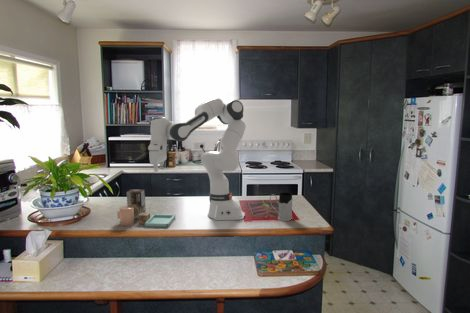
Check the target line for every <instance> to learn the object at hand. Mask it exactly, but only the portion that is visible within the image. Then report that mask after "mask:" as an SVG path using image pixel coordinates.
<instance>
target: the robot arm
mask: <svg viewBox="0 0 470 313" xmlns="http://www.w3.org/2000/svg"><path fill="white" fill-rule="evenodd" d="M243 117H244V105H243V103H242V102H241V101H240V100H237V99H233V100H230V101H229V102H227V103H224V102H223V100H222V99H220V98H219V97H214V98H210V99H208V100H206V101H204V102H203V103H201V104H199V105H198V106H197V107H196V108H195V110H194V116H193V117H191V118H190V119H189V120H187V121H186V122H179V123H178V122H174V121H171V120H170V119H167V118H166V117H165V116H156V117H153V118H151V122H150V129H149V130H150V136H151V137H150V143H149V145H148V147H147V149H148V151H149V152H148V153H149V158H148V159H149V163H150V165H153V172H156V173H157V172H159V170H162V169H164V164H165V161H166V160H167V158H168V156H167V154H168V153H167V149H168V147H167V145H168V143H167V140H168V139H169V140H173V141H176V142H185V141H186V140H187V139H188V138H189V137H190V135H191V134H192V133H193V132H194V131H196V130H197V129H198V128H200V127H201V126H202V125H204V124H206V123H207V122H210V121H211V120H213V119H214V118H217V119H218V121H220V123H221V124H223V125H227V128H226V129H225V131H224V133H223V135H222V137H221V139H220V140H219V141H220V142H219V144H220V145H221V148H222V149H221V150H220V151H214V150H211V151H206V152H204V153H203V154H202V155H201V158H200V159H201V160H200V161H201V165H202V167H204V169H205V171H206V172H207V175H208V178H209V185H210V186H209V187H210V188H209V189H210V192H209V209H208V213H207V217H208V218H211V219H214V220H215V221H232V220H233V221H237V220H238V221H239V220H243V219H245V217H244V216H245V215H246V214H245V212H244V211H242V208H241V205H240V204H239V203H238V201H235V200H234V199H233V193H232V192H230V190H229V184H230V183H229V179H228V177H226V175H225V174H224V172H234V171H236V170H237V169H238V166H239V164H240V163H239V162H240V161H239V158H238V156H237V149H238V146H240V143H241V140H242V138H243V136H244V135H245V132H246V126H247V125H246V123H245V122H244V121H243V120H242V119H243ZM158 166H159V168H158Z"/></svg>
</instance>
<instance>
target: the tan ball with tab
mask: <svg viewBox="0 0 470 313" xmlns="http://www.w3.org/2000/svg"><path fill="white" fill-rule="evenodd" d="M116 215H117V219H119V224H120V226H122V227H128V226H133V225H134V224H135V218H134V207H132V206H127V205H125V206H122V207H120V208H119V210H118V211H117V212H116Z"/></svg>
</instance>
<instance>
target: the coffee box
mask: <svg viewBox="0 0 470 313" xmlns="http://www.w3.org/2000/svg"><path fill="white" fill-rule="evenodd" d="M126 206H132V207H134V219H139V214H141V213H147V212H146V210H147V208H146V190H145V189H135V188H134V189H133V188H132V189H129V190H128V191H126Z"/></svg>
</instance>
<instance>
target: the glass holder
mask: <svg viewBox="0 0 470 313" xmlns="http://www.w3.org/2000/svg"><path fill="white" fill-rule="evenodd" d="M278 195H279V196H278V198H277V195H276V194H270V196H269V203H270V206H271V207H272V208H273V210H275V212H276V213H277V214H278V216H277V219H278V220H279V221H282V222H290V221H289V220H291V219H292V220H293V193H291V192H280V193H279V194H278ZM272 196H274V197H275V200H276V203H278V210H277V209H276V208H275V207H274V206H273V203H272V201H271V200H272V199H271V197H272ZM292 220H291V221H292Z"/></svg>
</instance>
